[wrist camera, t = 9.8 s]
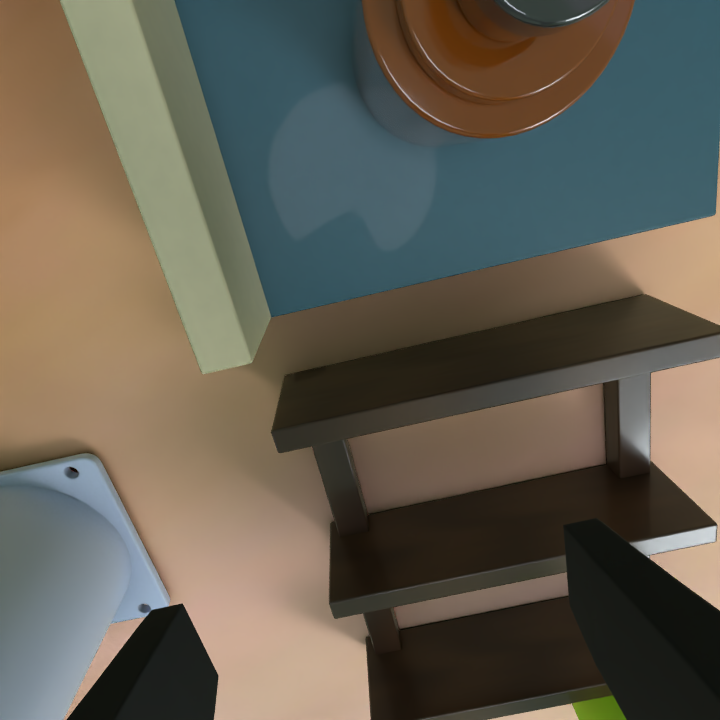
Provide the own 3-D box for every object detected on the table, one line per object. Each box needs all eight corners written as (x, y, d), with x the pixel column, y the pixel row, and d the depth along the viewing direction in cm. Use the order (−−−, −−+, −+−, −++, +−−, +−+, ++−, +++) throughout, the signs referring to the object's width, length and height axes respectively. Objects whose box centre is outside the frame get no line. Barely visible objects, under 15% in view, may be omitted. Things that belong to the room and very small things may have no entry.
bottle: (371, 164, 13) (408, 166, 6) (332, -30, 11) (326, -305, 5) (531, 126, 13) (744, 85, 6) (514, -76, 11) (781, -435, 4)
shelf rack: (368, 648, 23) (375, 741, 19) (284, 374, 18) (270, 431, 14) (646, 592, 22) (707, 678, 19) (646, 293, 17) (732, 329, 13)
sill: (246, 304, 17) (201, 376, 11) (114, -106, 12) (-67, -324, 7) (661, 208, 16) (835, 232, 10) (667, -256, 12) (960, -627, 6)
